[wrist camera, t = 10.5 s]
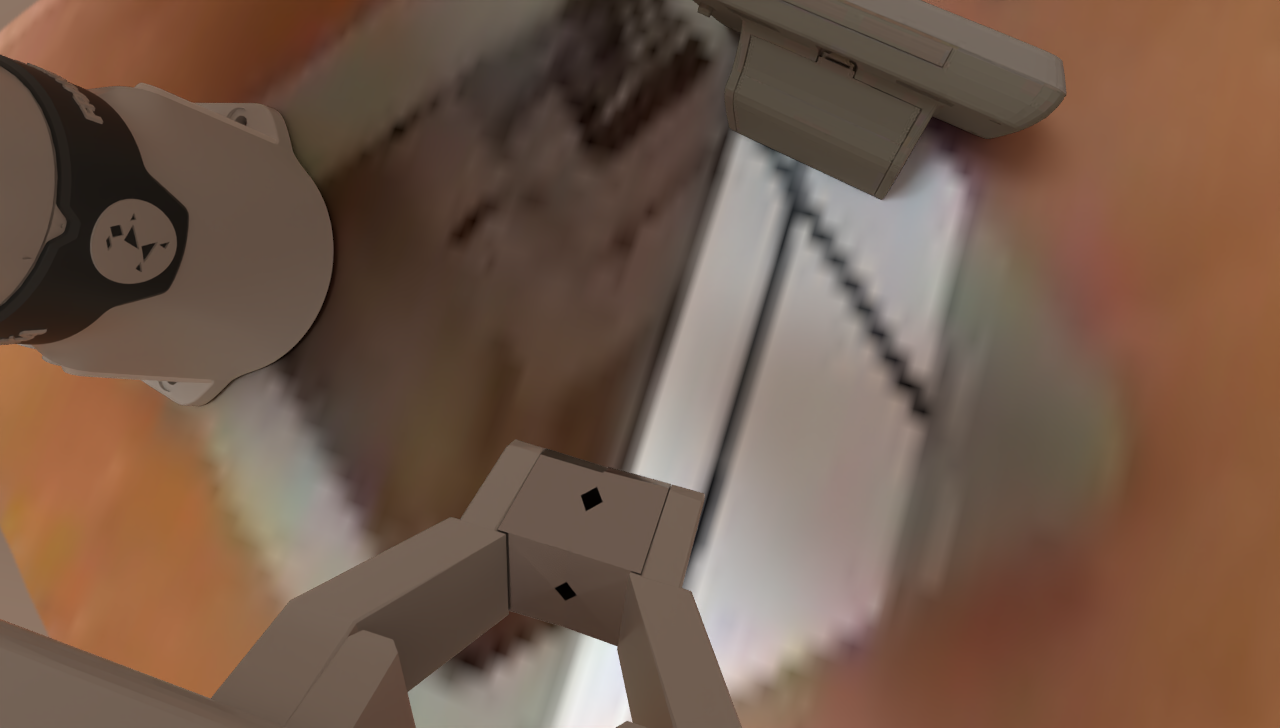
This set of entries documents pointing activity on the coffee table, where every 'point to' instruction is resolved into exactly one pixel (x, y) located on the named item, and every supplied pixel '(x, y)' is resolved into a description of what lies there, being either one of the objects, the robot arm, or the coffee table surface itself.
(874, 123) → the digital clock
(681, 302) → the coffee table surface
